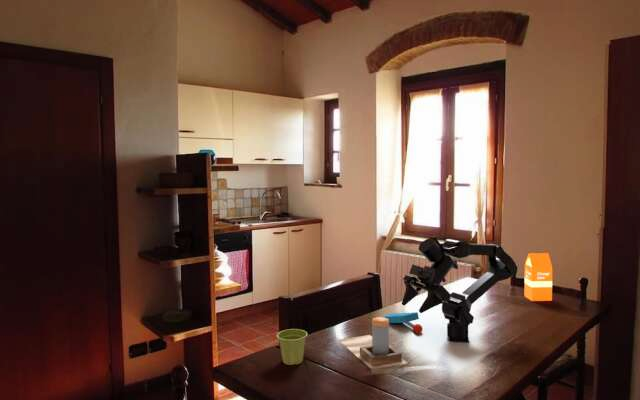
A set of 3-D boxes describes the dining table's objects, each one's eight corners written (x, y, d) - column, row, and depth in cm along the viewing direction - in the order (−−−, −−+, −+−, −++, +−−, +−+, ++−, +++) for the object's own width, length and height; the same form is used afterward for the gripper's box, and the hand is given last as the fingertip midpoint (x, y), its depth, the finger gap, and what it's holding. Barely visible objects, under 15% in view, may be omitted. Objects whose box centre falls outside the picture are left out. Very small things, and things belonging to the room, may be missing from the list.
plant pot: (296, 370, 142) (295, 341, 142) (271, 363, 147) (270, 336, 147) (313, 359, 150) (313, 332, 149) (289, 353, 155) (288, 327, 154)
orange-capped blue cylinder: (382, 353, 151) (382, 316, 150) (392, 359, 146) (392, 320, 146) (369, 357, 148) (369, 318, 147) (378, 362, 144) (379, 323, 143)
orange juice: (552, 300, 207) (552, 254, 206) (531, 301, 207) (532, 255, 206) (543, 295, 215) (544, 251, 214) (524, 296, 215) (524, 251, 214)
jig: (337, 342, 163) (337, 332, 163) (369, 337, 168) (369, 327, 167) (372, 373, 139) (372, 361, 139) (408, 366, 143) (408, 355, 143)
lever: (382, 335, 183) (414, 335, 168) (378, 316, 184) (410, 315, 169) (395, 331, 187) (428, 331, 172) (392, 313, 188) (424, 311, 173)
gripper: (407, 251, 165) (380, 286, 161) (443, 260, 148) (413, 300, 144) (425, 271, 169) (399, 306, 165) (463, 282, 152) (435, 322, 148)
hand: (411, 308), depth 155 cm, fingers open, 9 cm apart
